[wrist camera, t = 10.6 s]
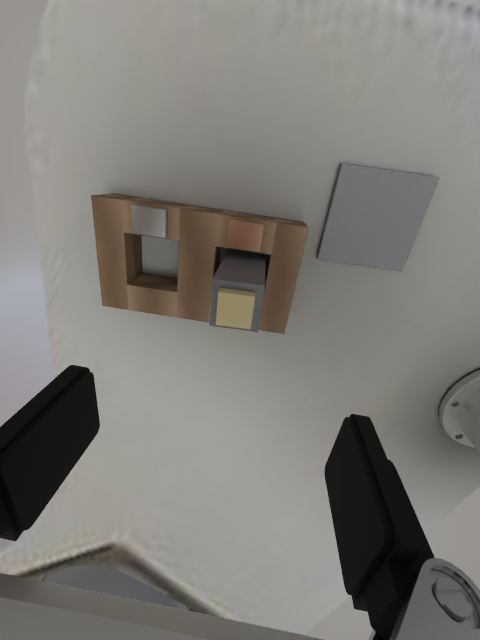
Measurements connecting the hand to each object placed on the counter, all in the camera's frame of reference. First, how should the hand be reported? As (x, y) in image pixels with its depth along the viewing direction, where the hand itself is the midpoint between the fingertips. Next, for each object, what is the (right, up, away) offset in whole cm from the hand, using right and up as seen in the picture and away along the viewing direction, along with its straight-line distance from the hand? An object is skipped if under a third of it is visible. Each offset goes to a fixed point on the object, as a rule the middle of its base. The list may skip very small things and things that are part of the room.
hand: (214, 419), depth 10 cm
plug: (+2, +9, +18) cm, 20 cm away
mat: (+13, +13, +15) cm, 23 cm away
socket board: (-3, +10, +18) cm, 20 cm away
